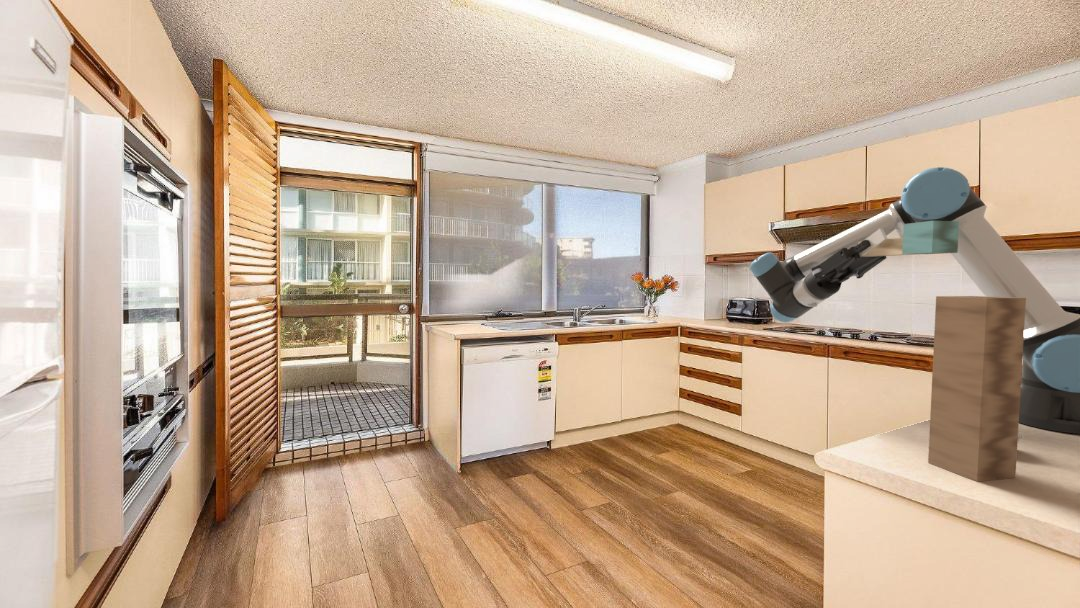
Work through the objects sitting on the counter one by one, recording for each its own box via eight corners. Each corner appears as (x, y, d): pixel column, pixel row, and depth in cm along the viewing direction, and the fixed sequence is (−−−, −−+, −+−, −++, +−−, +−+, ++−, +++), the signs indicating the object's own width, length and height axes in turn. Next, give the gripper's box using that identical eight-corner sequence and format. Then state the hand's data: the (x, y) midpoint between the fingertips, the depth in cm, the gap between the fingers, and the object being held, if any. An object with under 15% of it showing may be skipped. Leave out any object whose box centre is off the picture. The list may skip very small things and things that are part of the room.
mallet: (874, 256, 109) (875, 230, 109) (957, 252, 91) (959, 221, 91) (852, 256, 108) (853, 230, 107) (931, 252, 90) (933, 220, 90)
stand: (964, 459, 87) (972, 296, 85) (1015, 477, 79) (1025, 298, 77) (928, 462, 85) (936, 296, 83) (976, 481, 77) (986, 298, 76)
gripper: (850, 299, 122) (931, 249, 101) (793, 299, 119) (866, 248, 98) (839, 274, 125) (915, 220, 105) (784, 274, 122) (852, 218, 101)
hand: (891, 234), depth 101 cm, fingers closed on mallet, 3 cm apart
